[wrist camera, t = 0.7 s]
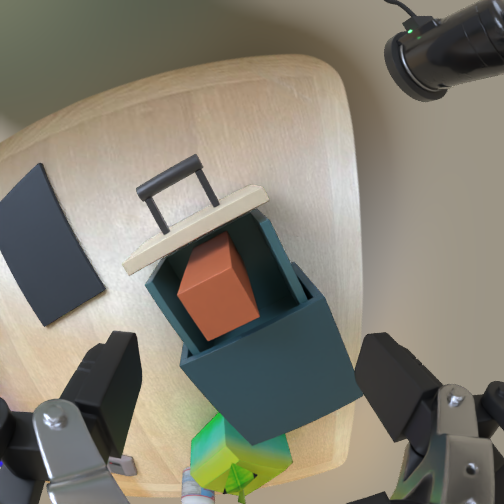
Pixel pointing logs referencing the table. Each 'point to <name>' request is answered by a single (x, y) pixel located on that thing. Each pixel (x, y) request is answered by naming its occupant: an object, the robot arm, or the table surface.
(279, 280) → the drawer
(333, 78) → the table surface
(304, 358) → the cabinet
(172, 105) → the table surface
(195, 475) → the cubic fruit with leaf
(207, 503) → the pill bottle
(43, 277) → the mat
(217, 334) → the block
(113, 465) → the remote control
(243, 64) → the table surface
